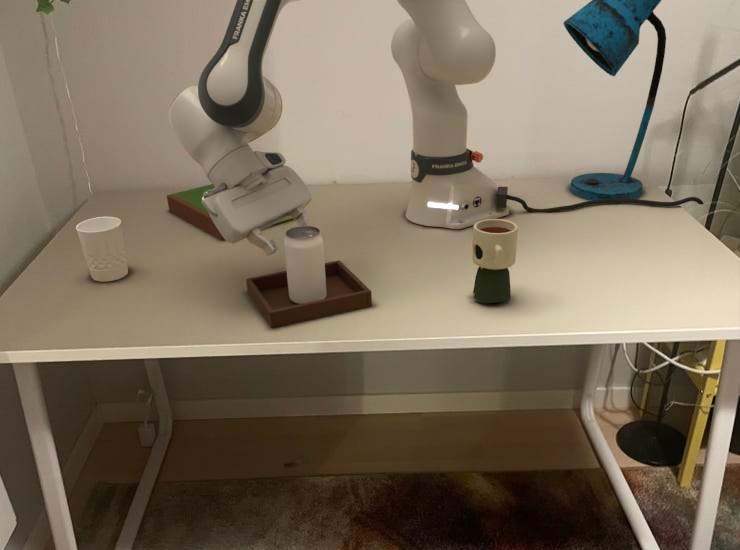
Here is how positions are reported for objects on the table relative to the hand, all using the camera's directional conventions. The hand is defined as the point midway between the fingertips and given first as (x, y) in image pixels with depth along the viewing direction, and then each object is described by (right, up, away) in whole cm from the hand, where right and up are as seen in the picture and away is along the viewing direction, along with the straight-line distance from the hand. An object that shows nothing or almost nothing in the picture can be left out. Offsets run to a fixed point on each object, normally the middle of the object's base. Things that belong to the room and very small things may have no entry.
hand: (291, 242), depth 125 cm
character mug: (+34, -9, +2) cm, 35 cm away
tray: (+2, -9, +4) cm, 10 cm away
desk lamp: (+66, +19, +48) cm, 84 cm away
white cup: (-36, -4, +16) cm, 39 cm away
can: (+2, -9, +4) cm, 10 cm away
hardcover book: (-17, +13, +42) cm, 47 cm away
